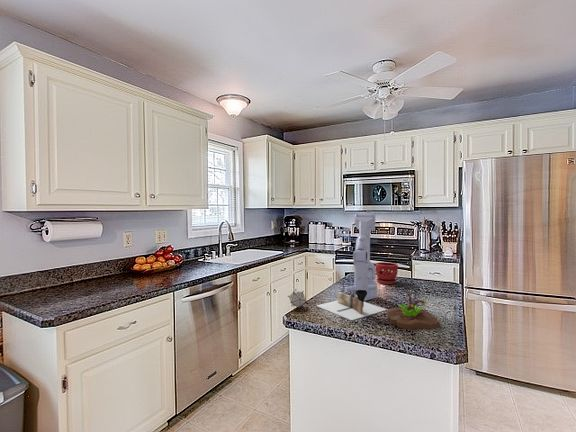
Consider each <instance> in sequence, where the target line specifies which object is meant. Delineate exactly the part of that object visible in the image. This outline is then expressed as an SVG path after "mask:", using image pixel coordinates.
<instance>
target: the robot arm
mask: <svg viewBox="0 0 576 432" xmlns="http://www.w3.org/2000/svg"><path fill="white" fill-rule="evenodd" d="M354 224H355V227H356V229H358V237H356V240H355V247H354V248H355V249H354V250H353V253H352V261H353V267H354V269H353V270H354V277H353V278H354V282H353V283H354V285H350V286H344V291H345V292H346V293H349V292H354V294H356V295H354V297H356V298H357V299H359V300H360V301H362V302H363V306H364V302H365V301H369V300H372V299H373V300H374V299H377V298H379V295H378V284H377V283H378V282H377V280H376V277H377V275H376V264H374V263H373V262H372V261H371V232H372V230H374V229H375V228H376V214H375V213H355V214H354Z"/></svg>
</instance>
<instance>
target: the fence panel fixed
mask: <svg viewBox="0 0 576 432" xmlns="http://www.w3.org/2000/svg"><path fill="white" fill-rule="evenodd" d="M353 297H355V292H354V293H350V295H349V294H345V293H344V292H339V291H338V292H337V300H338V303H340V304H343V305H346V306H349V307H351V308H353Z"/></svg>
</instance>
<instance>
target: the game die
mask: <svg viewBox="0 0 576 432" xmlns="http://www.w3.org/2000/svg"><path fill="white" fill-rule="evenodd" d="M287 297H288V298H289V300H290V304H291V307H297V308H298V310H300V309H301V306H303V304H305V303H307V302H309V301H308V300H306V299H307V298H306V297H305V294H304V290H302V291H299V290H297V288H295V289H294V291H292V293H291V294H290V295H287Z"/></svg>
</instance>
